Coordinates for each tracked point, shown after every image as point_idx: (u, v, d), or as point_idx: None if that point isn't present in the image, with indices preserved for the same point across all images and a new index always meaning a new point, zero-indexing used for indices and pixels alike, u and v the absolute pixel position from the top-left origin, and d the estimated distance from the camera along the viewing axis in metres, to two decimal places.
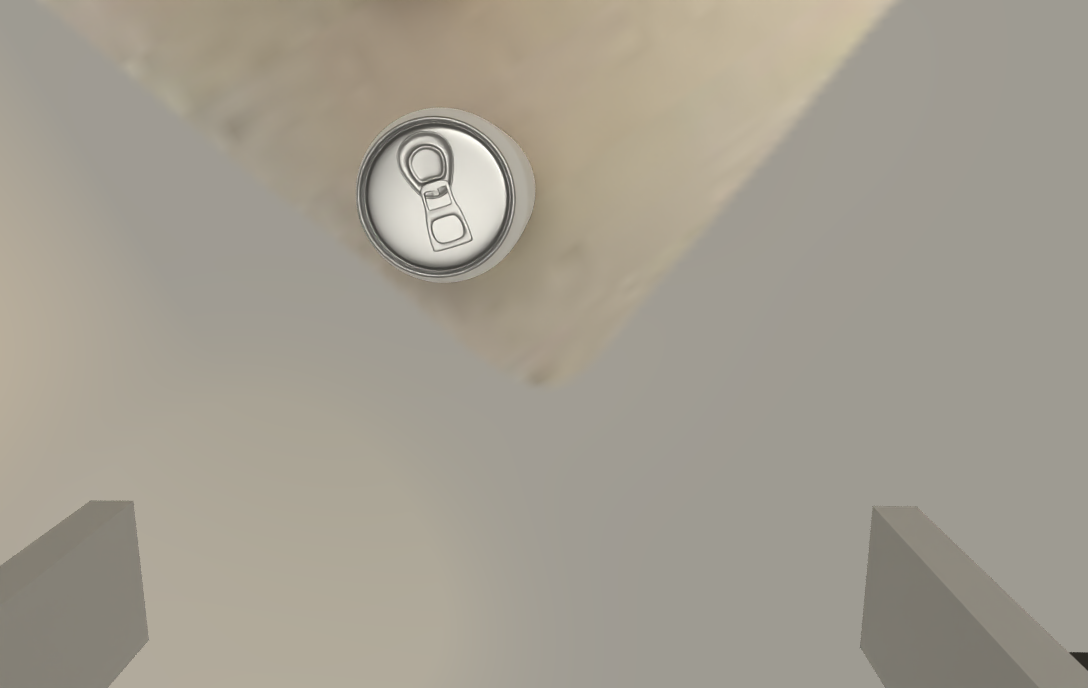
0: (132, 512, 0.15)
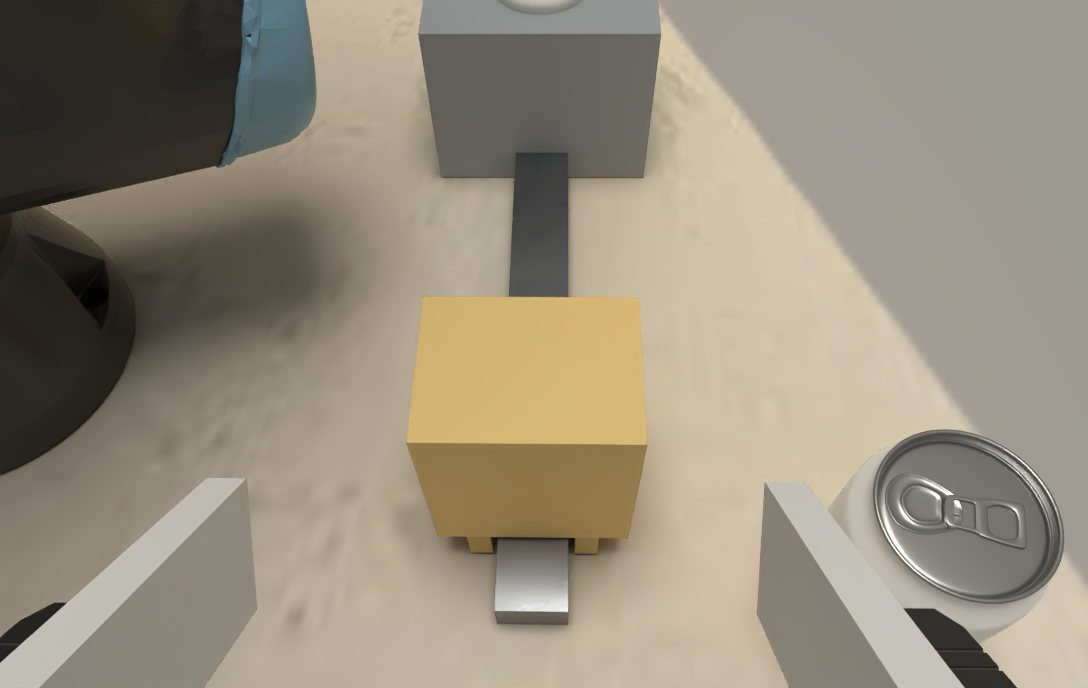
0: (245, 489, 0.16)
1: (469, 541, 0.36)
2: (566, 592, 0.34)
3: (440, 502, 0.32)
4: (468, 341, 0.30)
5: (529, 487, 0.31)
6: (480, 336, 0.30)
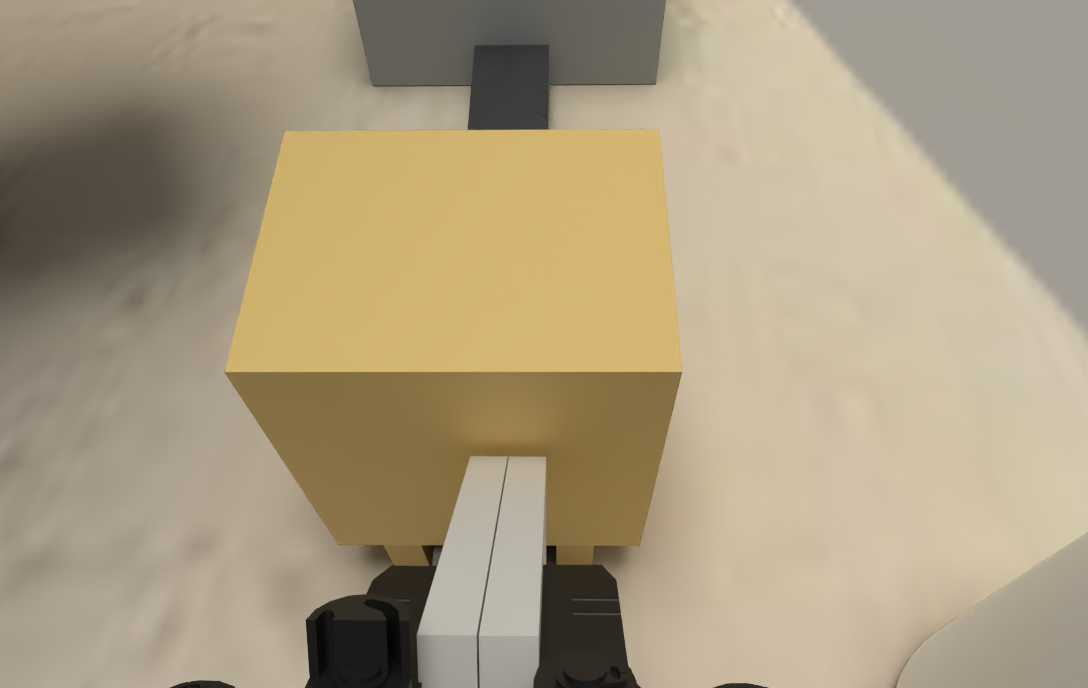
0: (507, 466, 0.17)
1: (389, 552, 0.23)
2: None
3: (325, 489, 0.19)
4: (356, 199, 0.17)
5: None
6: (379, 191, 0.17)
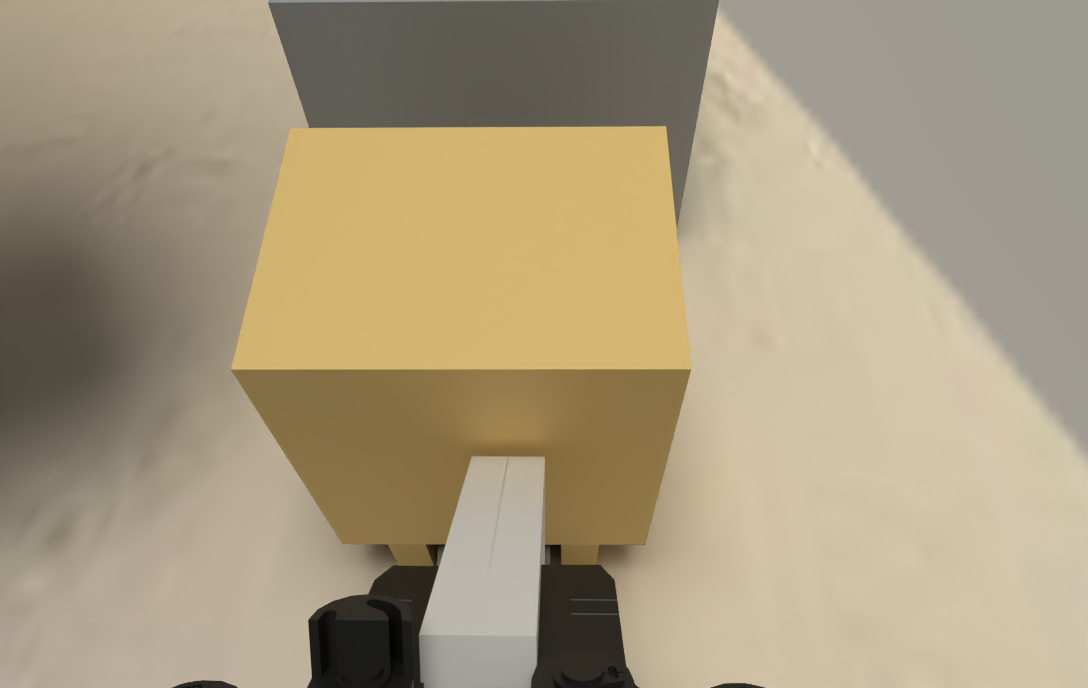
0: None
1: (393, 551, 0.23)
2: None
3: (330, 488, 0.19)
4: (363, 196, 0.17)
5: None
6: (385, 188, 0.17)
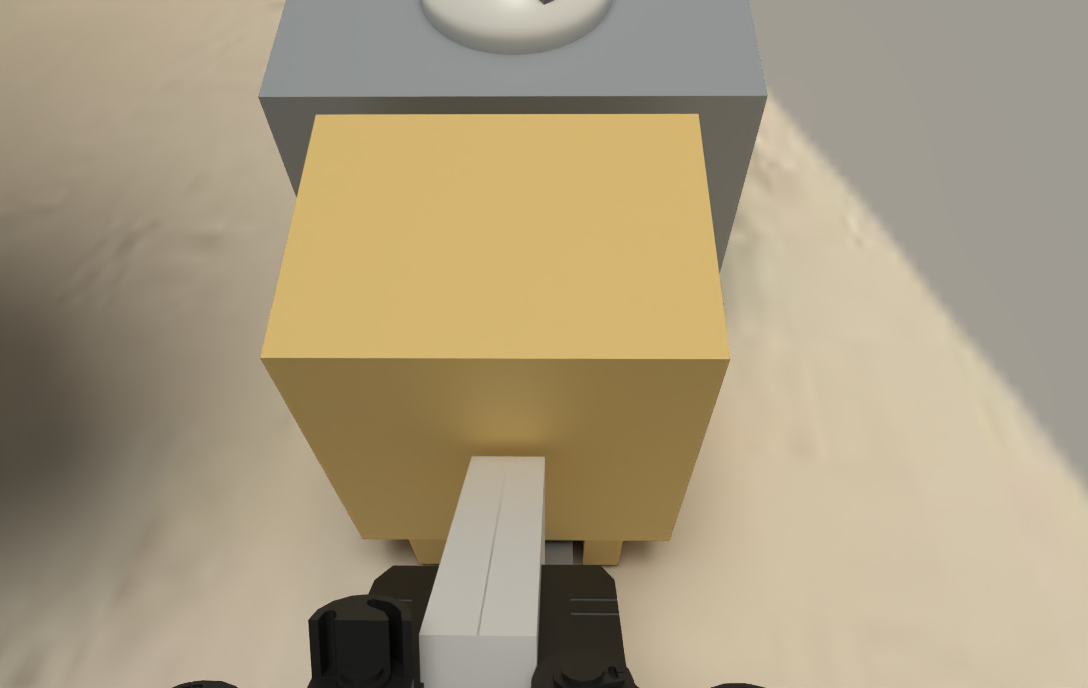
0: None
1: (414, 546, 0.22)
2: None
3: (354, 481, 0.19)
4: (391, 183, 0.16)
5: (505, 450, 0.17)
6: (414, 175, 0.16)
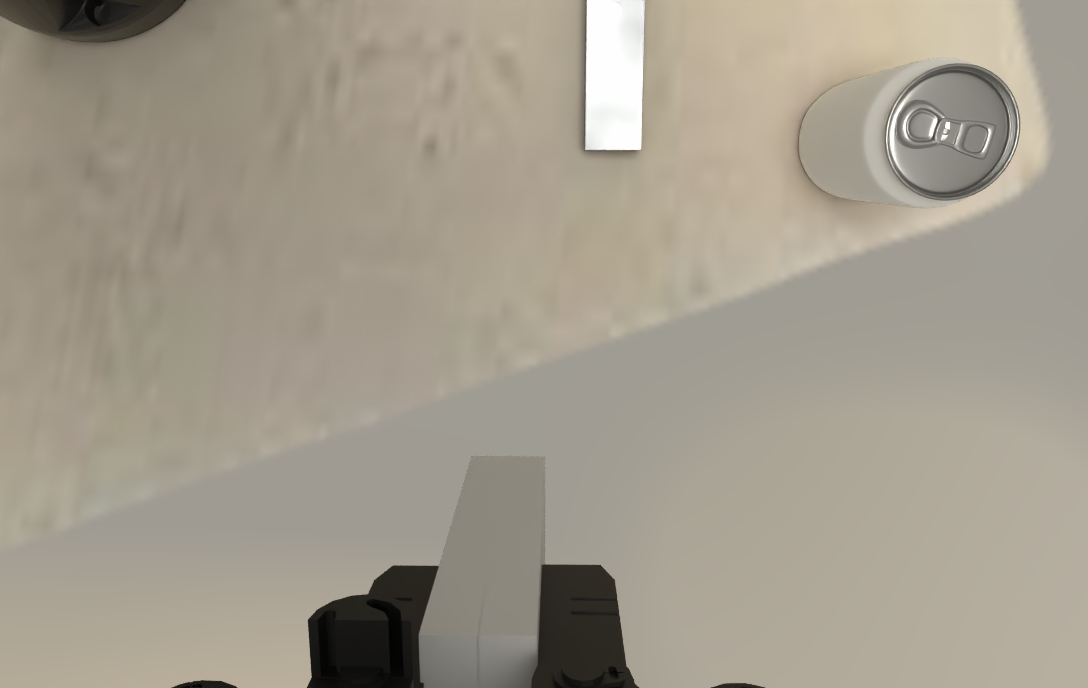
0: None
1: None
2: (640, 134, 0.45)
3: None
4: None
5: None
6: None
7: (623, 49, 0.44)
